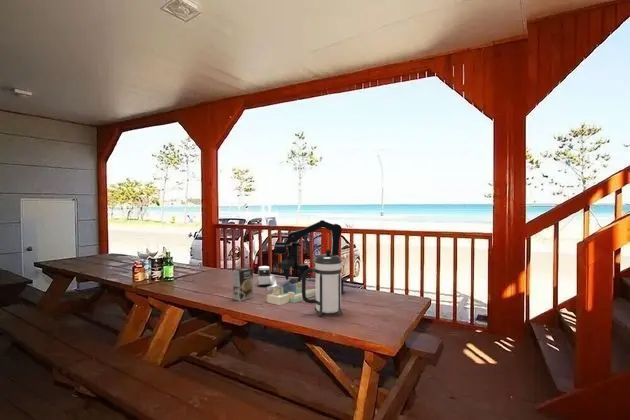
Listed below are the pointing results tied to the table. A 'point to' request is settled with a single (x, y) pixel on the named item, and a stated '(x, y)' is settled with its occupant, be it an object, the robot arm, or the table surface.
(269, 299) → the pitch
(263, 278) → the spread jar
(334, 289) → the coffee press
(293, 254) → the robot arm
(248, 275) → the coffee box
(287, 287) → the rod
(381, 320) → the table surface
